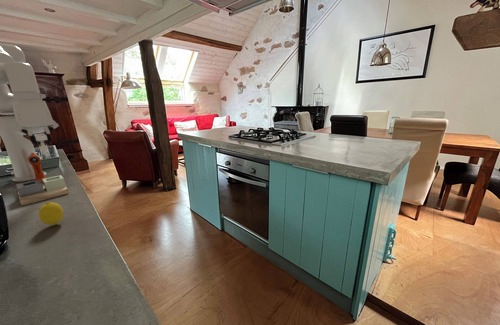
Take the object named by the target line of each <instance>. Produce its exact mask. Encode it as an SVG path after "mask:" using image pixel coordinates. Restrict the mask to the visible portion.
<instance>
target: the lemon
mask: <svg viewBox="0 0 500 325" xmlns="http://www.w3.org/2000/svg"><path fill="white" fill-rule="evenodd" d="M64 214H65V213H64V210H63V208H62V206H61V205H60V204H59V203H57V202H51V201H47V202H46V203H44V204H43V205H42V206H41V207H40V208H39V211H38V216H39V220H40V221H41V222H42V223H43V224H44V225H49V226H50V225H51V226H56V225H57V224H58V223H59V222H60V223H61V221H62V219H64V218H63V217H64Z"/></svg>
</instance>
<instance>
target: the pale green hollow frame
mask: <svg viewBox="0 0 500 325" xmlns="http://www.w3.org/2000/svg"><path fill="white" fill-rule="evenodd" d="M42 180H43V186H45V188H46V190H47V191H51V190H55V189H59V188H63V187H66V188H67V185H66V182H65V178H64V177H63V175H61V174H60V175H56V176H55V175H54V176H50V177H47V178H45V179H42Z"/></svg>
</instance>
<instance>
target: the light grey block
mask: <svg viewBox="0 0 500 325" xmlns="http://www.w3.org/2000/svg"><path fill="white" fill-rule="evenodd" d="M34 136H35V139H36V141H37V144H38V145H37V146H38V147H39V150H40V154H41V157H42V160H49V159H51V157H52V156H51V154H50V150H49V148H48V143H47V141H46V140H47V136H46V135H45V133H36V134H34Z"/></svg>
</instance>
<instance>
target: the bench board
mask: <svg viewBox="0 0 500 325" xmlns="http://www.w3.org/2000/svg"><path fill="white" fill-rule="evenodd" d="M43 188H44V191H45V192H44V193H40V194H35V195H31V196H27V197H23V198H21V197H20V195H19V192H18V191H17V193H18V199H19V202H20V205H21V206H26V205H31V204H34V203H38V202H40V201H41V202H42V201H44V200H49V199H53V198H56V197H61V196H63V195H64V196H65V195H68V194H70V192H69V189H68V187H67V186H66V187H63V188H59V189H55V190H51V191H47V190H46V188H45V186H44V185H43Z"/></svg>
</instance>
